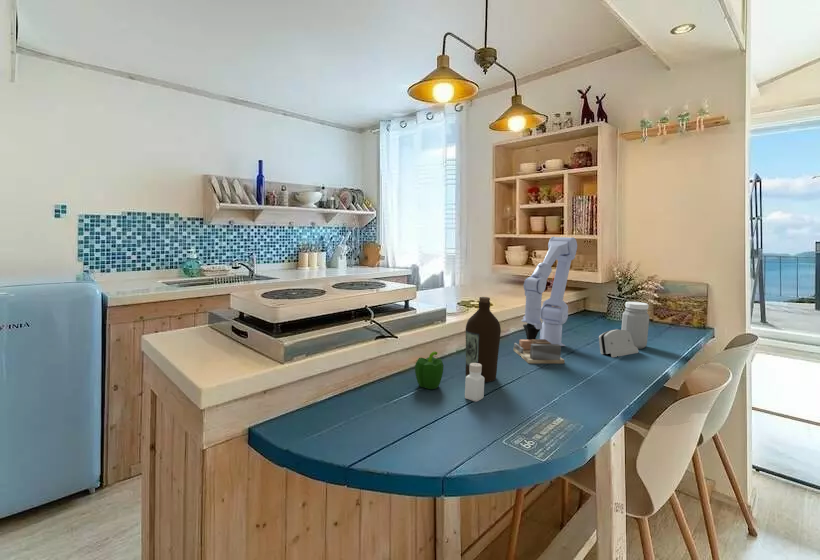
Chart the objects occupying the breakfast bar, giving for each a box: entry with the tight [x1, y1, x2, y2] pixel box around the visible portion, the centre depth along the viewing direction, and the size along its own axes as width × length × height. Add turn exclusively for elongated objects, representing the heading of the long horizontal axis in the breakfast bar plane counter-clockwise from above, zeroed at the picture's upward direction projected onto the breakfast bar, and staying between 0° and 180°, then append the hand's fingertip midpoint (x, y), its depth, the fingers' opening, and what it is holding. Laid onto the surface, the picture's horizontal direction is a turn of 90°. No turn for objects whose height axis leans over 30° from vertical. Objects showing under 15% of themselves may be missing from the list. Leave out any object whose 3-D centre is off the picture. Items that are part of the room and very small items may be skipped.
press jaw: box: [518, 339, 532, 350], centre depth 160 cm, size 2×10×3 cm, turn 95°
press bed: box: [512, 342, 566, 364], centre depth 155 cm, size 16×13×6 cm
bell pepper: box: [414, 351, 444, 390], centre depth 121 cm, size 8×8×10 cm
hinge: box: [598, 329, 639, 358], centre depth 164 cm, size 17×5×10 cm, turn 119°
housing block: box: [532, 338, 551, 344], centre depth 152 cm, size 5×5×5 cm
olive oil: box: [465, 296, 502, 383], centre depth 130 cm, size 11×11×25 cm
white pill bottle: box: [464, 363, 485, 402], centre depth 113 cm, size 4×4×10 cm
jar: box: [620, 301, 650, 350], centre depth 174 cm, size 10×10×18 cm
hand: (530, 343), depth 162 cm, fingers closed
